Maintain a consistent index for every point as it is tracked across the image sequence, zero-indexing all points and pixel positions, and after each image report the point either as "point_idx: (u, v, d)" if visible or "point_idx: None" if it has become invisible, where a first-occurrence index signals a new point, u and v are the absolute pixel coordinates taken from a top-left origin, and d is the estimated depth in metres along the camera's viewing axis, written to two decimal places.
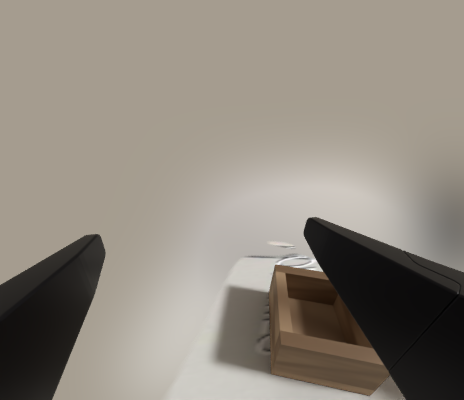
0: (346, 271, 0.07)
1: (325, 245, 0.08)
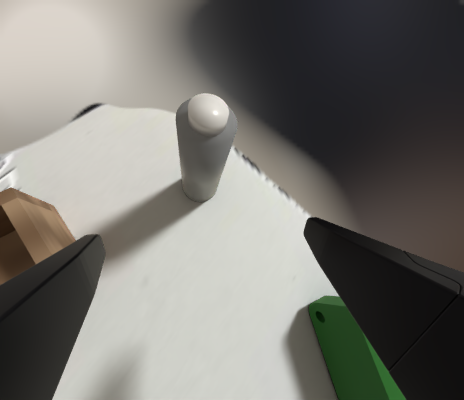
0: (346, 271, 0.07)
1: (325, 245, 0.08)
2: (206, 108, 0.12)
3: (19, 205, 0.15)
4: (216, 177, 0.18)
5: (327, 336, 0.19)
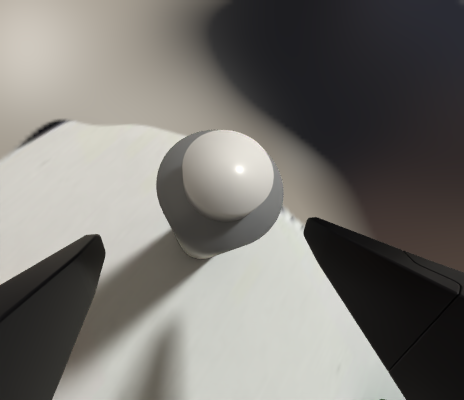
0: (346, 271, 0.07)
1: (325, 245, 0.08)
2: (224, 166, 0.05)
3: None
4: None
5: None
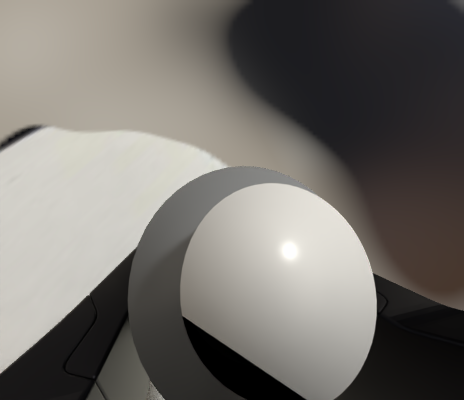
0: None
1: None
2: (275, 275, 0.02)
3: None
4: None
5: None
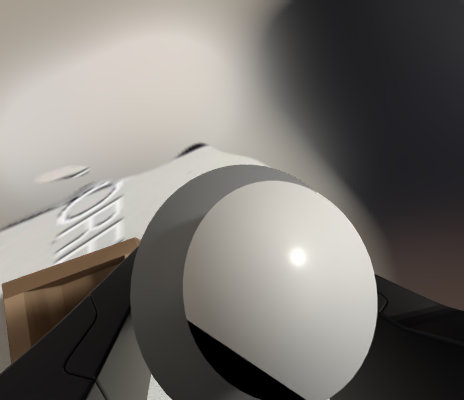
0: None
1: None
2: (277, 271, 0.02)
3: None
4: None
5: None
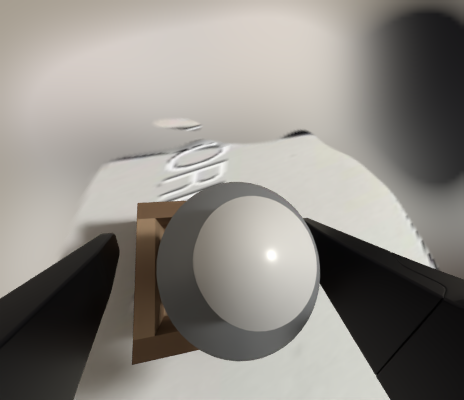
0: (335, 273, 0.07)
1: None
2: (251, 253, 0.04)
3: None
4: None
5: None
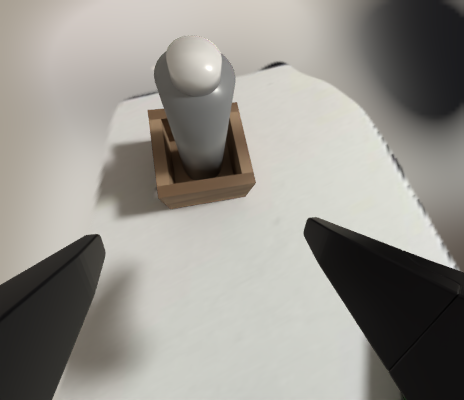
0: (346, 271, 0.07)
1: (325, 245, 0.08)
2: (190, 56, 0.09)
3: (239, 117, 0.18)
4: (218, 151, 0.15)
5: None
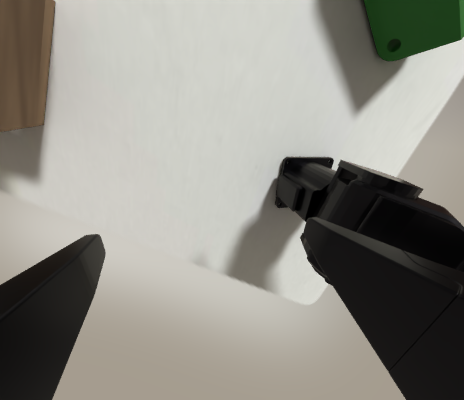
0: (346, 271, 0.07)
1: (325, 245, 0.08)
2: None
3: None
4: None
5: None
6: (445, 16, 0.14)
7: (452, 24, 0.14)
